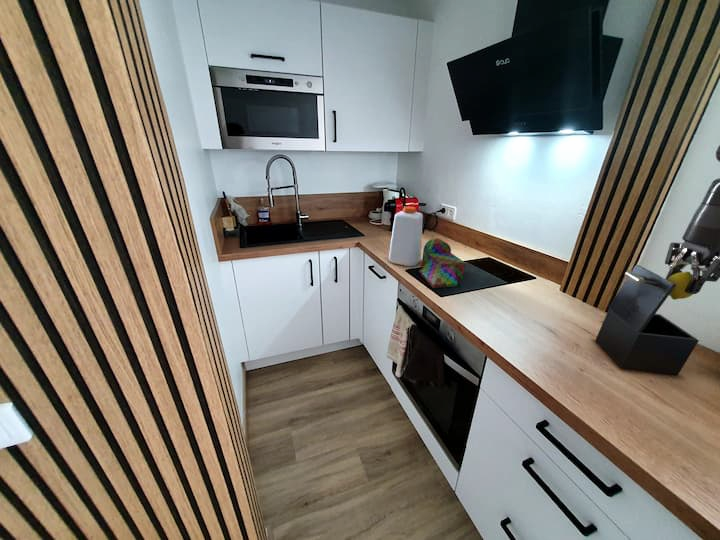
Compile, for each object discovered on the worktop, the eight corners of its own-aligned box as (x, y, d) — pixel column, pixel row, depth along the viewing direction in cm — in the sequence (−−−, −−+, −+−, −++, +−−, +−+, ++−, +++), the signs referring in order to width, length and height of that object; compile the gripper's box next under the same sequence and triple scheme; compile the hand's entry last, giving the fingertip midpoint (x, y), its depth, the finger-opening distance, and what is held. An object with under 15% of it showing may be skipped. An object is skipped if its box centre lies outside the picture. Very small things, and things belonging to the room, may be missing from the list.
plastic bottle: (422, 258, 153) (428, 206, 142) (414, 268, 141) (420, 212, 130) (395, 253, 159) (399, 203, 148) (385, 262, 147) (389, 208, 136)
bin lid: (639, 265, 79) (620, 260, 80) (677, 284, 68) (655, 279, 68) (610, 308, 85) (593, 304, 86) (641, 332, 74) (621, 327, 74)
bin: (643, 346, 88) (660, 314, 83) (677, 376, 77) (699, 340, 72) (594, 341, 90) (608, 309, 85) (621, 369, 79) (639, 333, 74)
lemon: (681, 297, 77) (696, 270, 73) (693, 306, 72) (709, 278, 69) (655, 292, 79) (668, 266, 76) (664, 301, 74) (679, 273, 71)
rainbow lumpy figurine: (411, 265, 144) (414, 238, 138) (442, 263, 147) (446, 237, 142) (433, 287, 121) (437, 256, 116) (468, 285, 125) (475, 255, 119)
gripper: (766, 233, 60) (723, 302, 67) (703, 218, 73) (673, 277, 80) (724, 231, 61) (687, 299, 68) (670, 216, 74) (643, 275, 81)
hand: (679, 287), depth 74 cm, fingers closed on lemon, 5 cm apart
